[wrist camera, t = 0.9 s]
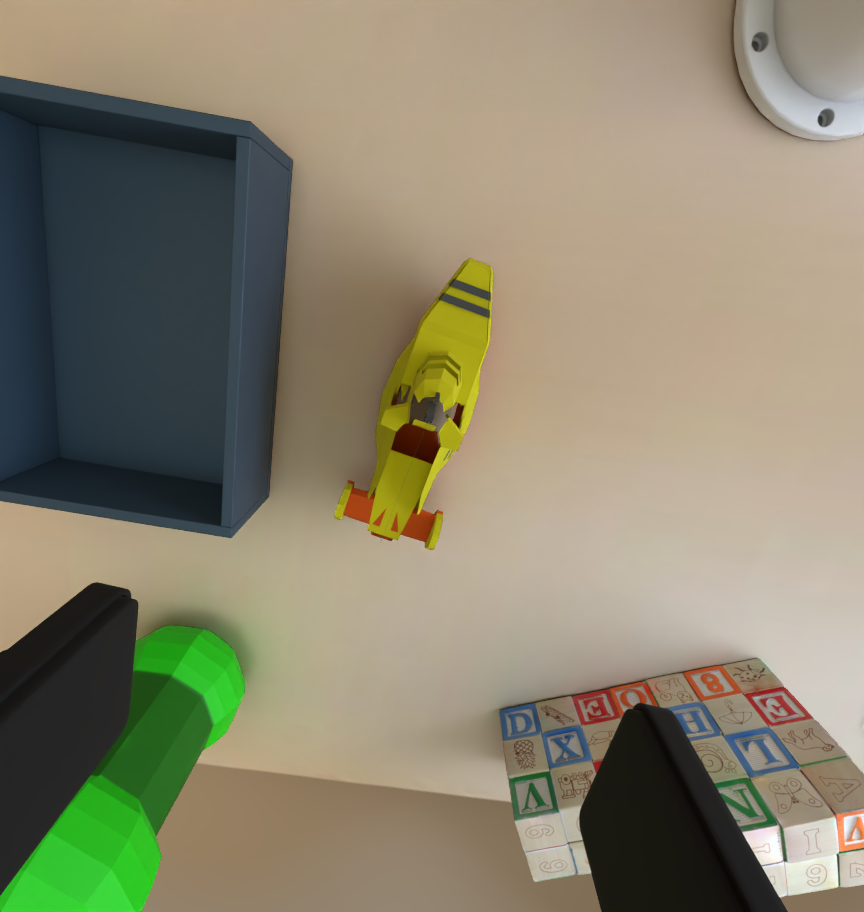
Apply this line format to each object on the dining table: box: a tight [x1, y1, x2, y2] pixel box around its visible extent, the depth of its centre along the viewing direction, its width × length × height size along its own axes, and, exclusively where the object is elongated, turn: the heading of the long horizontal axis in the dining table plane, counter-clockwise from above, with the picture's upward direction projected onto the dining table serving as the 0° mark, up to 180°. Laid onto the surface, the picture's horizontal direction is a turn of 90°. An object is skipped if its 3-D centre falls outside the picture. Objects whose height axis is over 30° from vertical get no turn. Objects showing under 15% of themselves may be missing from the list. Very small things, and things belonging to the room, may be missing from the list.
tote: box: [0, 76, 293, 538], centre depth 29 cm, size 22×15×7 cm
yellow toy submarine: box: [334, 258, 493, 550], centre depth 29 cm, size 6×18×10 cm, turn 161°
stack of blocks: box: [500, 658, 864, 897], centre depth 35 cm, size 21×6×12 cm, turn 105°
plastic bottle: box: [0, 625, 245, 912], centre depth 28 cm, size 10×11×25 cm
